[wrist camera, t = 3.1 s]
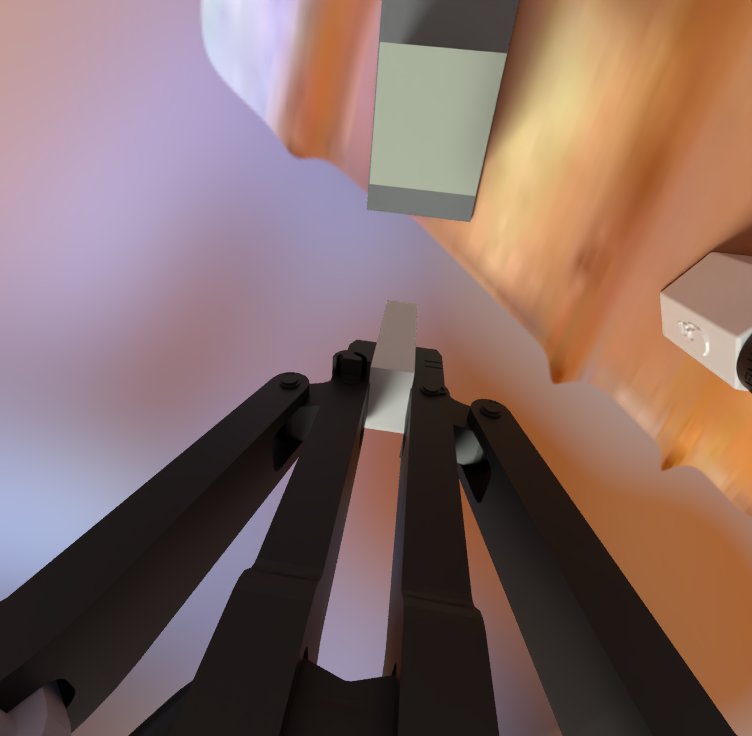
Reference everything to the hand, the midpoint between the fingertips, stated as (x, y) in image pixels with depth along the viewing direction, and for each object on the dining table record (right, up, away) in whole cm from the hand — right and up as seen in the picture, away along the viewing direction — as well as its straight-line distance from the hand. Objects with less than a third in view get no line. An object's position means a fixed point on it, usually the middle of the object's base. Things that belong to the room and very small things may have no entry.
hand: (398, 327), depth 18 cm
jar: (+29, +4, +13) cm, 32 cm away
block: (+3, +16, +9) cm, 19 cm away
